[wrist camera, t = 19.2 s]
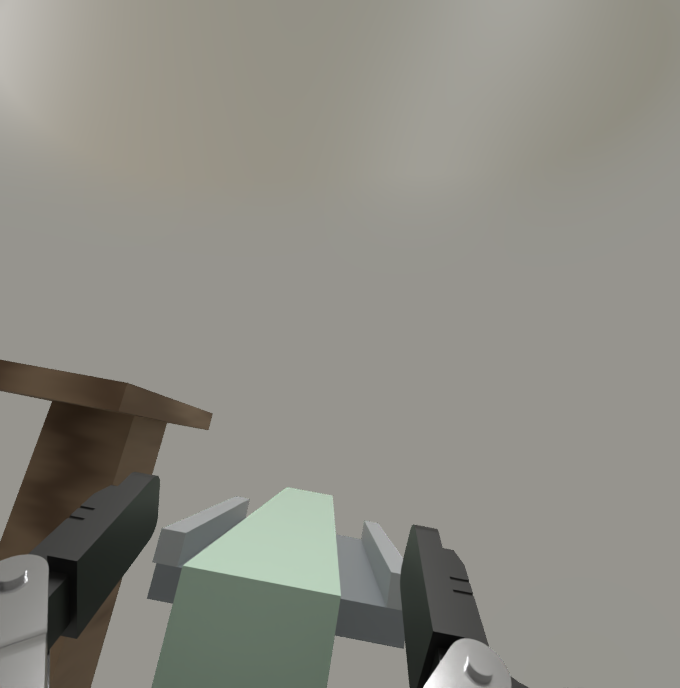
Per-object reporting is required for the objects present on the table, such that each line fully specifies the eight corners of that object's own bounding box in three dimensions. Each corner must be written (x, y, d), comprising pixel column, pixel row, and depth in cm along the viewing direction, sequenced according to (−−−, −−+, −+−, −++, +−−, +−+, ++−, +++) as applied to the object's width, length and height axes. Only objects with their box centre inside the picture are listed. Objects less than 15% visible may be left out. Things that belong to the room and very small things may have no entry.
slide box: (146, 708, 9) (182, 565, 10) (279, 524, 34) (287, 487, 35) (317, 742, 9) (340, 595, 10) (326, 532, 34) (332, 495, 35)
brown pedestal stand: (-573, 1272, 13) (-109, 339, 22) (-85, 831, 29) (74, 388, 37) (-160, 1374, 13) (145, 386, 21) (107, 872, 28) (223, 415, 37)
